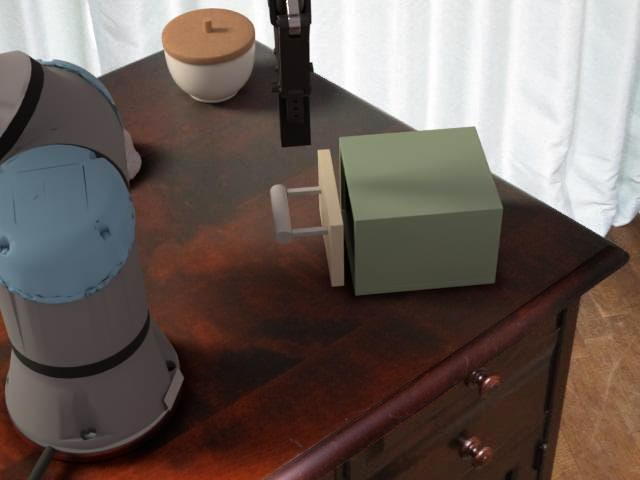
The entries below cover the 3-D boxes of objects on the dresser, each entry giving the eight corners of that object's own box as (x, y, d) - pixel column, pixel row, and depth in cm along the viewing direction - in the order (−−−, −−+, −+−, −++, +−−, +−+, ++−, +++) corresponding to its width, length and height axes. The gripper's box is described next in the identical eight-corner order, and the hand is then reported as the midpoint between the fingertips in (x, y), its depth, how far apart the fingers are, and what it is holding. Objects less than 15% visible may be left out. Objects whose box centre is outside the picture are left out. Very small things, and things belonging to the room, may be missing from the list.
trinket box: (256, 114, 132) (251, 44, 126) (163, 115, 133) (154, 45, 126) (261, 62, 140) (256, -6, 134) (173, 63, 141) (165, -5, 134)
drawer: (279, 291, 110) (275, 230, 104) (271, 213, 118) (267, 153, 113) (460, 275, 111) (465, 214, 105) (439, 199, 119) (443, 139, 114)
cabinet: (355, 295, 110) (355, 220, 104) (340, 210, 120) (339, 137, 113) (494, 283, 111) (503, 208, 105) (469, 199, 120) (475, 125, 114)
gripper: (341, -65, 85) (344, 182, 100) (322, -140, 94) (328, 97, 110) (239, -58, 84) (259, 190, 100) (231, -134, 94) (250, 103, 110)
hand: (295, 141), depth 105 cm, fingers closed
